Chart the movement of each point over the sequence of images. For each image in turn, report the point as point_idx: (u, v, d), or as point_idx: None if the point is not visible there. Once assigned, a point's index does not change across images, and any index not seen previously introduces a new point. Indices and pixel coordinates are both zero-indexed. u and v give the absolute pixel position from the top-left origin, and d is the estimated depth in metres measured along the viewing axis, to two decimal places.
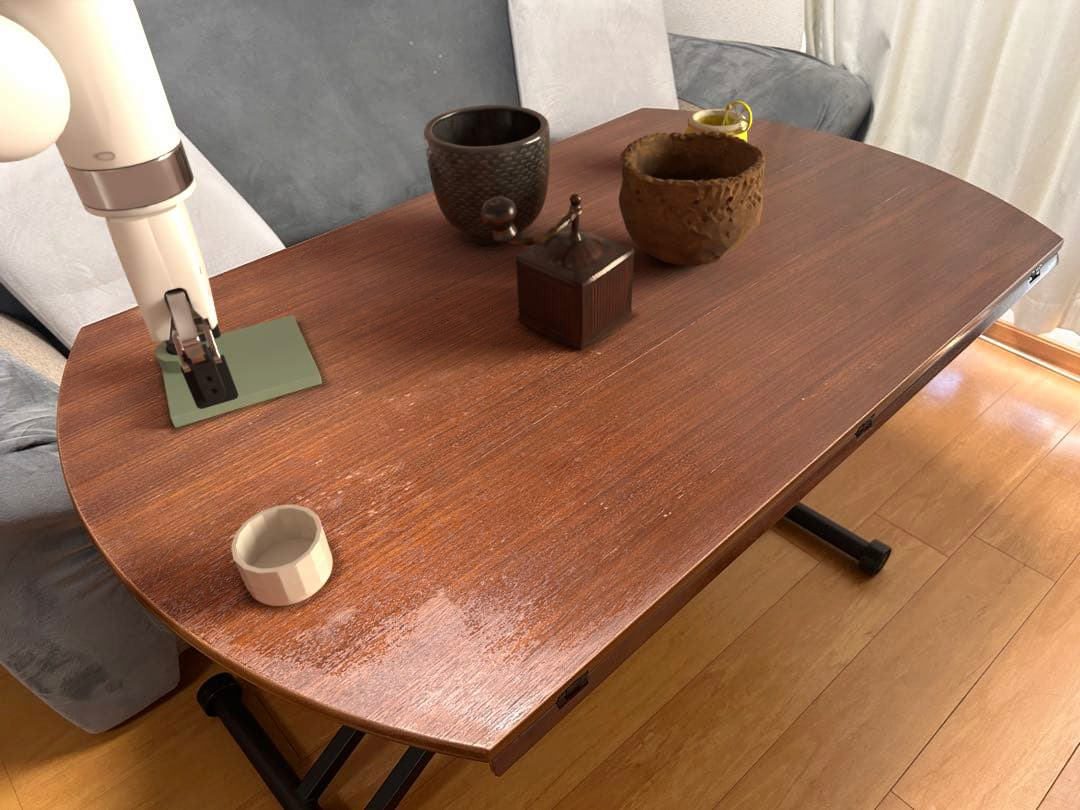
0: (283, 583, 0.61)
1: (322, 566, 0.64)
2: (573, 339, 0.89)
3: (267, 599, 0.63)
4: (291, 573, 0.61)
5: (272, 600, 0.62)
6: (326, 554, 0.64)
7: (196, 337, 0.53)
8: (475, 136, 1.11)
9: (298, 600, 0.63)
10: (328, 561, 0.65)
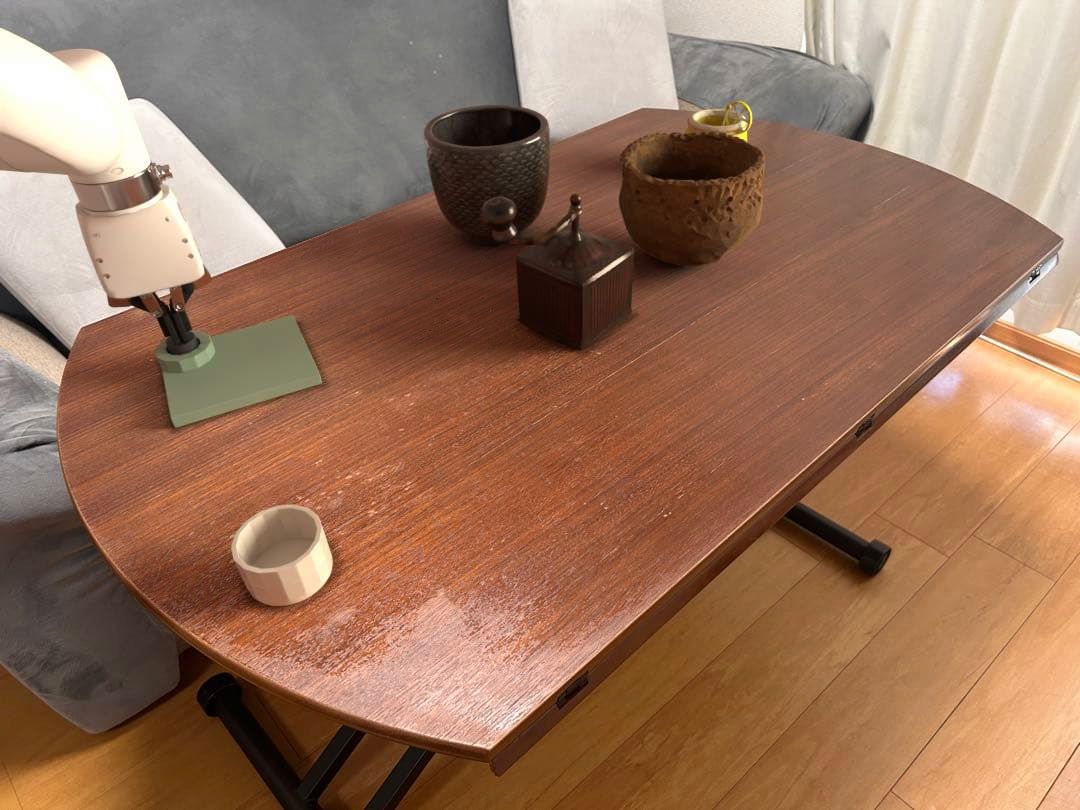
0: (283, 583, 0.61)
1: (322, 566, 0.64)
2: (573, 339, 0.89)
3: (267, 599, 0.63)
4: (291, 573, 0.61)
5: (272, 600, 0.62)
6: (326, 554, 0.64)
7: (108, 304, 0.81)
8: (475, 136, 1.11)
9: (298, 600, 0.63)
10: (328, 561, 0.65)
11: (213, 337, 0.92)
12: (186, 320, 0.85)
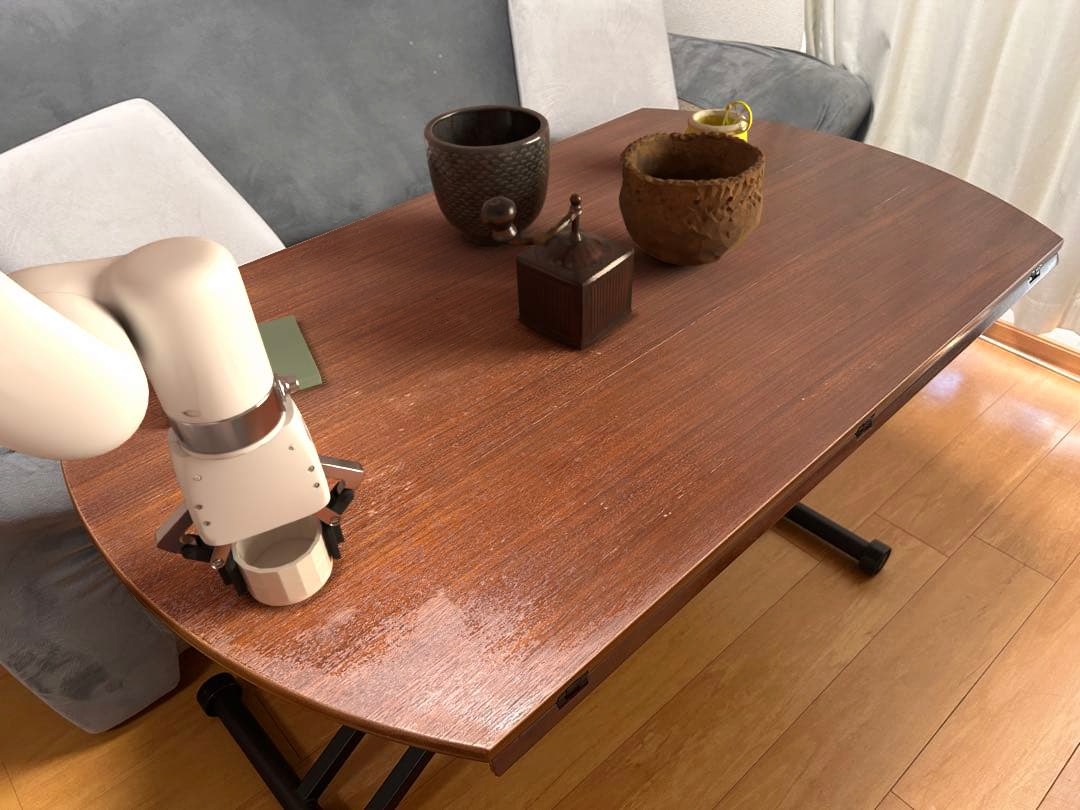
0: (283, 583, 0.61)
1: (322, 566, 0.64)
2: (573, 339, 0.89)
3: (267, 599, 0.63)
4: (291, 573, 0.61)
5: (272, 600, 0.62)
6: (326, 554, 0.64)
7: (156, 543, 0.57)
8: (475, 136, 1.11)
9: (298, 600, 0.63)
10: (328, 561, 0.65)
11: None
12: (339, 532, 0.65)
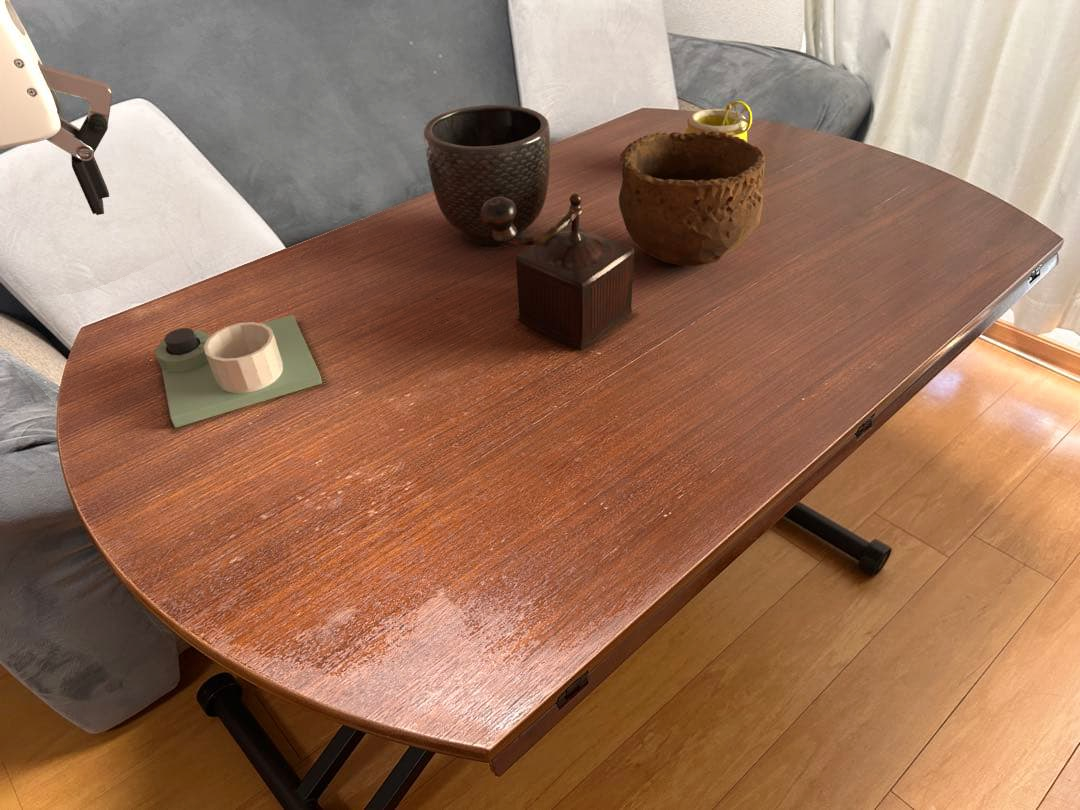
0: (243, 371, 0.81)
1: (273, 364, 0.84)
2: (573, 339, 0.89)
3: (231, 387, 0.82)
4: (248, 363, 0.81)
5: (235, 387, 0.82)
6: (277, 357, 0.84)
7: None
8: (475, 136, 1.11)
9: (255, 389, 0.83)
10: (279, 363, 0.85)
11: None
12: (98, 178, 0.56)
